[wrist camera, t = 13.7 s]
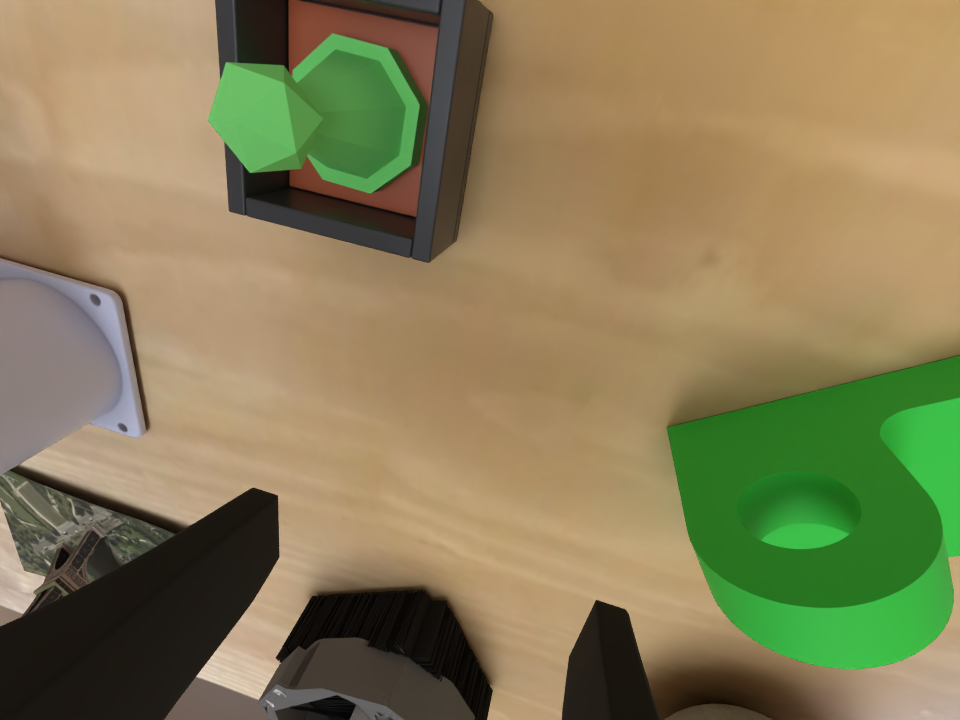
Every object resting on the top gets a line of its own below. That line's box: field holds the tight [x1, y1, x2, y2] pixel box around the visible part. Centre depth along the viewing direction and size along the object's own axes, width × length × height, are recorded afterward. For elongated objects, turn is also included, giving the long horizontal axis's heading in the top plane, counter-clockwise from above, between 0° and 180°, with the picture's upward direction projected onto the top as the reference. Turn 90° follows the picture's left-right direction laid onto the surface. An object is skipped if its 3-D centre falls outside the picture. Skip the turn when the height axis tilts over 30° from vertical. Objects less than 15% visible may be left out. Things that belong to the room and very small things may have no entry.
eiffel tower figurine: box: [0, 470, 176, 616], centre depth 25 cm, size 15×10×13 cm
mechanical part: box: [667, 356, 960, 669], centre depth 13 cm, size 12×6×8 cm, turn 116°
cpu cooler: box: [258, 590, 493, 720], centre depth 26 cm, size 10×6×10 cm
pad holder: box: [215, 0, 493, 263], centre depth 14 cm, size 7×7×3 cm
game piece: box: [208, 33, 428, 194], centre depth 12 cm, size 4×4×6 cm
